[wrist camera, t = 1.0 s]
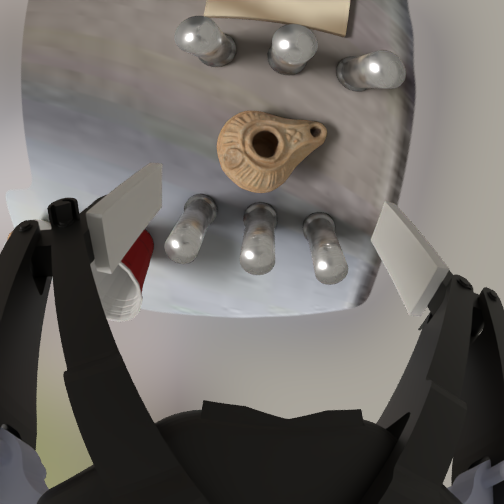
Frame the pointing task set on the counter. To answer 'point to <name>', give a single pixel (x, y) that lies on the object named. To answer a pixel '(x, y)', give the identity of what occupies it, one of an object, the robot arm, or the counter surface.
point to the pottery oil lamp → (265, 148)
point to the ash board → (286, 12)
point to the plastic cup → (125, 281)
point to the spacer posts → (262, 214)
